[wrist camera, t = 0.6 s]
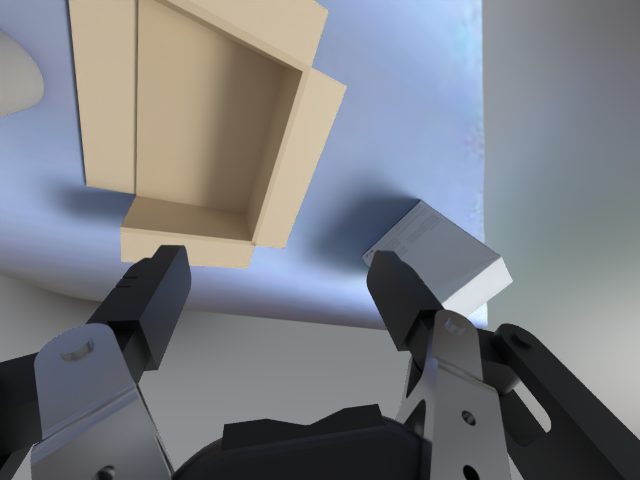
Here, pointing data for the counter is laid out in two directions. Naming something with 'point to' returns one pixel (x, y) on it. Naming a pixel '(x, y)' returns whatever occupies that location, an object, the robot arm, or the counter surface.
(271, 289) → the counter surface
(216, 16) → the carton
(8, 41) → the beverage can
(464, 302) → the supplement box
